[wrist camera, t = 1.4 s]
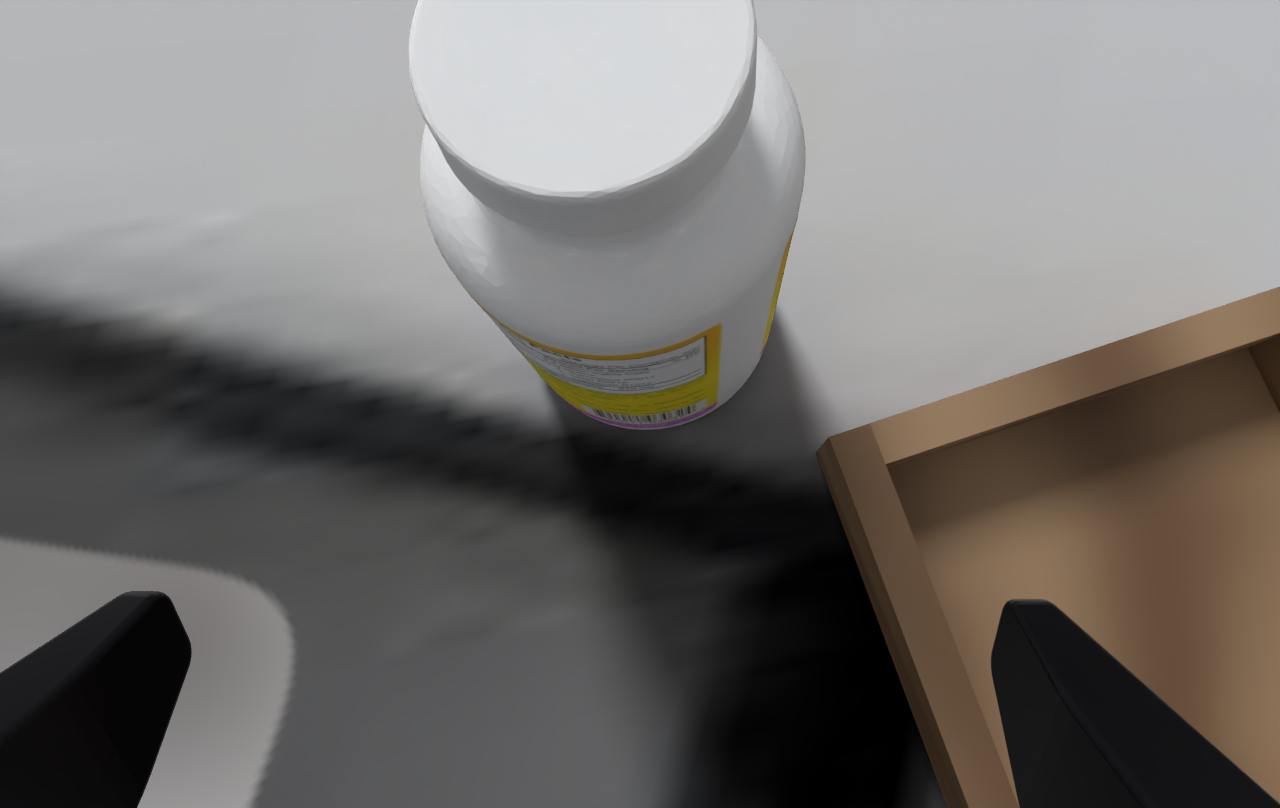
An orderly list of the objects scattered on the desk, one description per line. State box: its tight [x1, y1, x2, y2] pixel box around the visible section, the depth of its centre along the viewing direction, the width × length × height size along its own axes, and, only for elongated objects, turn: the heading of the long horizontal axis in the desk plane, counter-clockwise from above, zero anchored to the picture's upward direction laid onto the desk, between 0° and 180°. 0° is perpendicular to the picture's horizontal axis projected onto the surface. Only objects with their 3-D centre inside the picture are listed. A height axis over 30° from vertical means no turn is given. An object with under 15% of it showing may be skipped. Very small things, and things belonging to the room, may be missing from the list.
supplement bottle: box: [409, 0, 805, 430], centre depth 18 cm, size 7×7×13 cm
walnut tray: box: [816, 287, 1280, 808], centre depth 20 cm, size 12×12×3 cm
